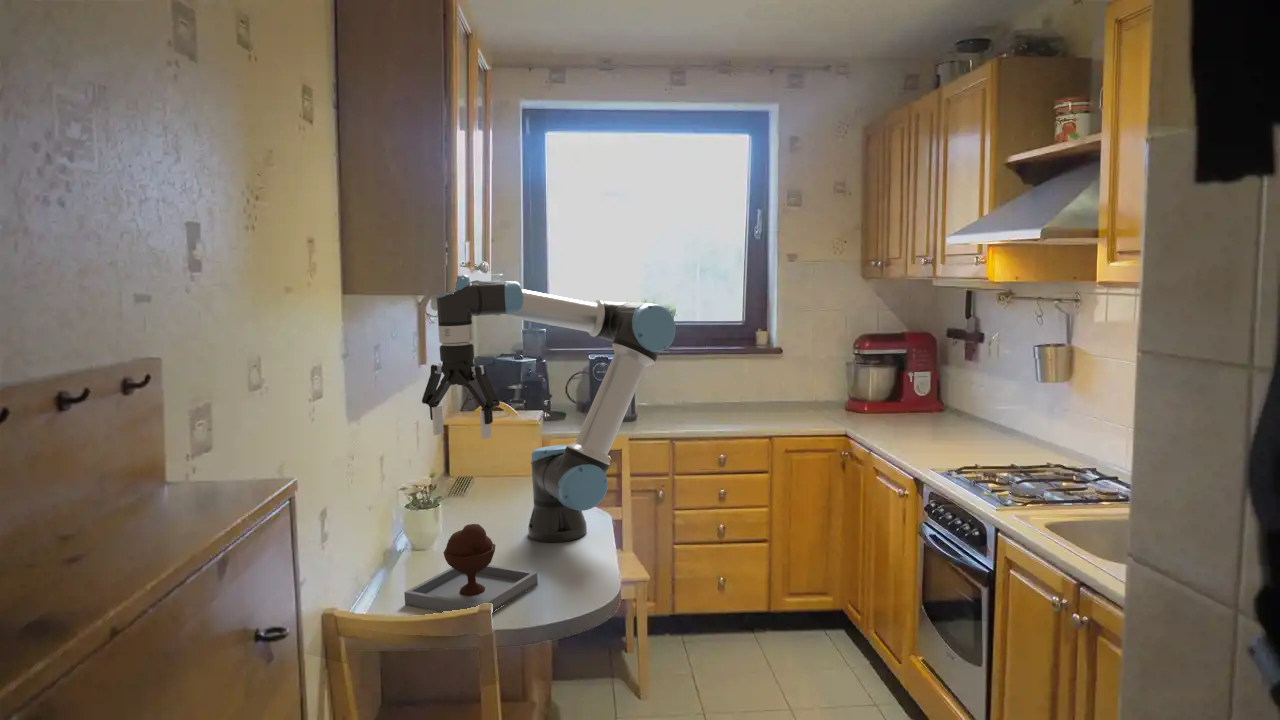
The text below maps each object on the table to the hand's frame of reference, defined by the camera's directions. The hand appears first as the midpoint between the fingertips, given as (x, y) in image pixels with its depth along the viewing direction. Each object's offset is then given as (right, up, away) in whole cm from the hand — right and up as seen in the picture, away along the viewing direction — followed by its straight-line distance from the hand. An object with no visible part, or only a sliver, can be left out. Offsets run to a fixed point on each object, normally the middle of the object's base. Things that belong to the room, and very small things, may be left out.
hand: (462, 436), depth 199 cm
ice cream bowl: (+4, -33, -11) cm, 35 cm away
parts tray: (+5, -33, -11) cm, 35 cm away
